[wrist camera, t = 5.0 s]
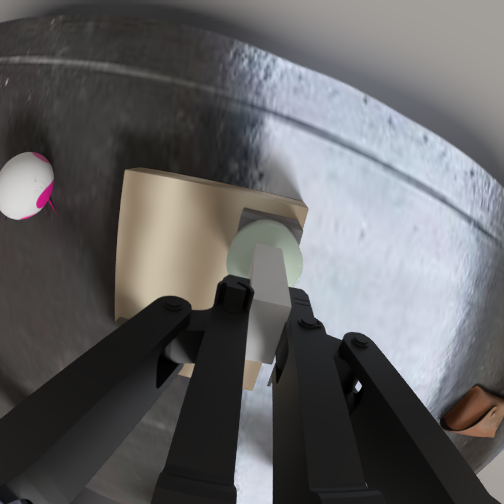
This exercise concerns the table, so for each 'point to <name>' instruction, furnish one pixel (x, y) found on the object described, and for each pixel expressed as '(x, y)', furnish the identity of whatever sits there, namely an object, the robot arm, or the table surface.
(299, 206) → the knob board
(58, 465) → the robot arm
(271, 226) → the sage knob
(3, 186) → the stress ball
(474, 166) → the table surface
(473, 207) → the table surface
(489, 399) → the sunglasses case
